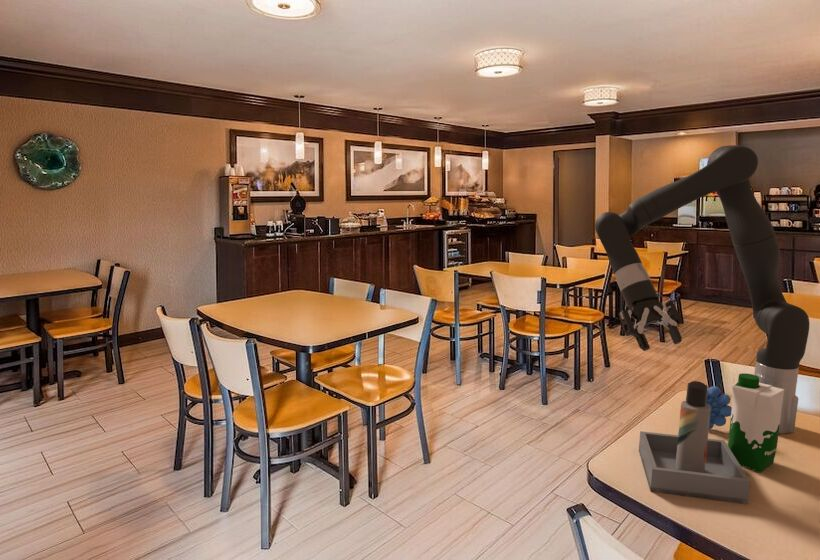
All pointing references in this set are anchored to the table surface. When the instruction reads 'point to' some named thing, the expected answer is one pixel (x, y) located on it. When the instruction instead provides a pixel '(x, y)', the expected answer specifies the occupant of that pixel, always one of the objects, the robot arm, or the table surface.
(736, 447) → the milk carton
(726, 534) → the table surface
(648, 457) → the bin
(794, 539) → the table surface
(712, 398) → the grapes
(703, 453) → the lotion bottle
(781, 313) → the robot arm
